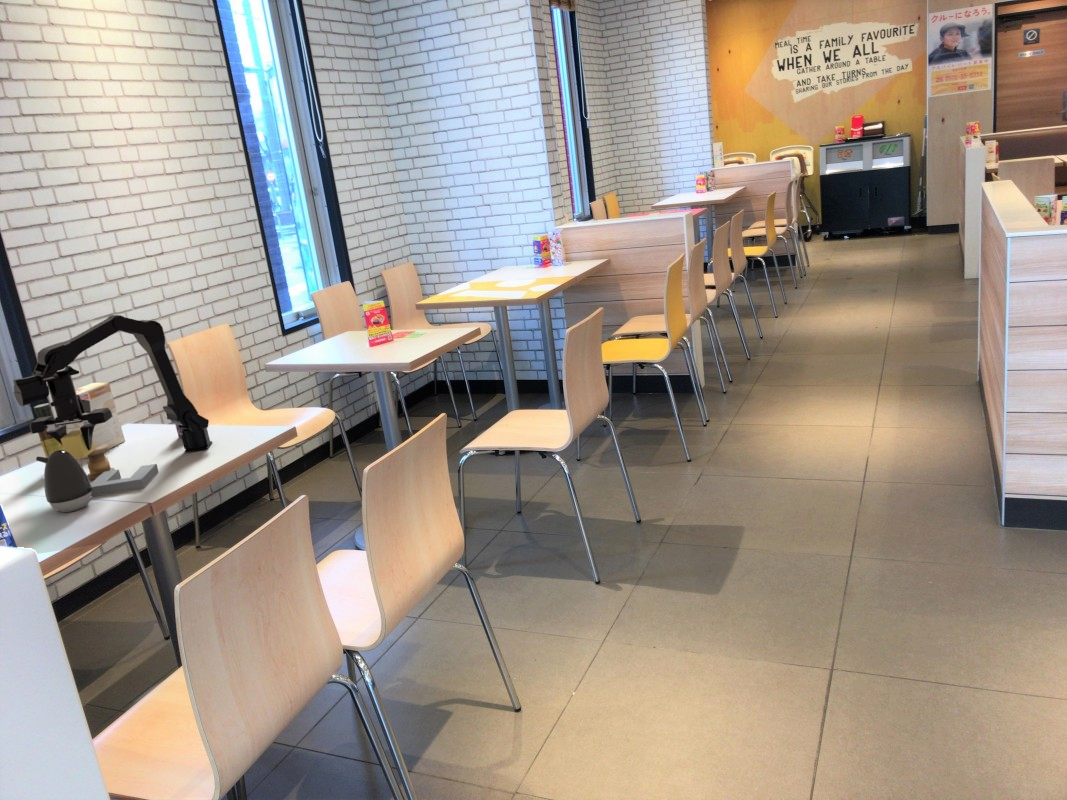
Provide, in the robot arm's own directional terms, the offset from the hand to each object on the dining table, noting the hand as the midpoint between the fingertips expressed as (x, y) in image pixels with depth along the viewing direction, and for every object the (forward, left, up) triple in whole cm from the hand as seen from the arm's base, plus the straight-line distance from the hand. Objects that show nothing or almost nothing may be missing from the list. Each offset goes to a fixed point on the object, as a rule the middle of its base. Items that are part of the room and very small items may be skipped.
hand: (80, 451), depth 222 cm
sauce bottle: (+15, -19, -10) cm, 26 cm away
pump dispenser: (-2, +16, -10) cm, 19 cm away
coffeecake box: (+11, -36, -10) cm, 39 cm away
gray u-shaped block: (-10, +3, -10) cm, 15 cm away
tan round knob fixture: (0, -8, -10) cm, 13 cm away
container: (-15, -37, -10) cm, 41 cm away
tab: (0, 0, -1) cm, 1 cm away
